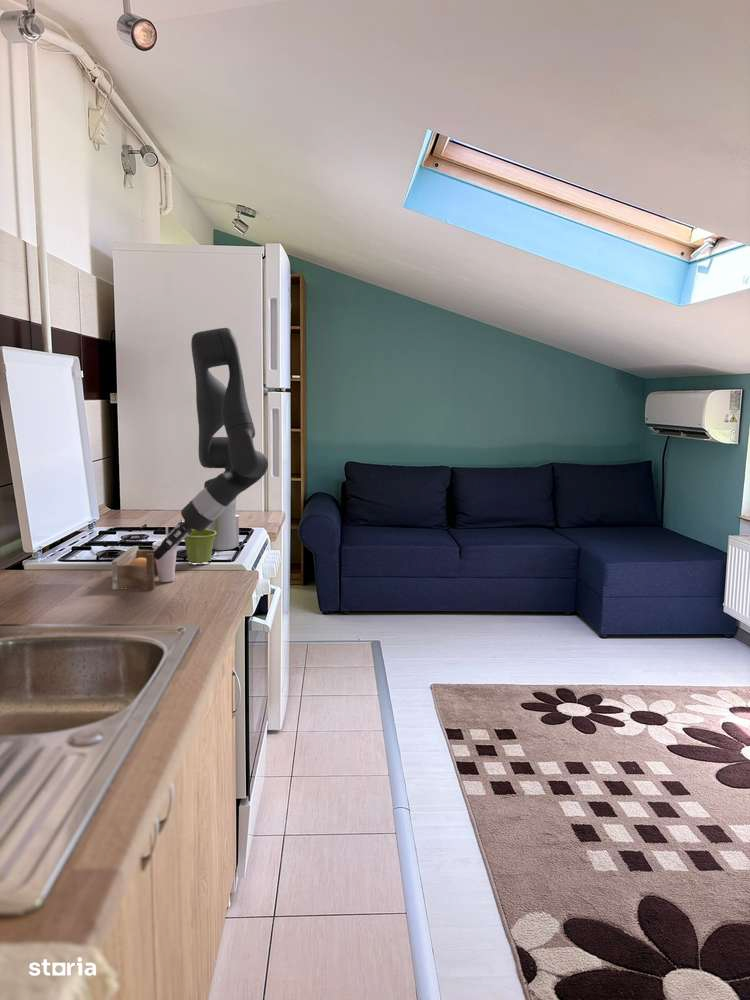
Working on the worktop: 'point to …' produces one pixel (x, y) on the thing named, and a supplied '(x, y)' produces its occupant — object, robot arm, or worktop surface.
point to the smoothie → (166, 561)
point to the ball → (139, 561)
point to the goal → (134, 570)
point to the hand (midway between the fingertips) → (159, 553)
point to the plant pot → (199, 545)
